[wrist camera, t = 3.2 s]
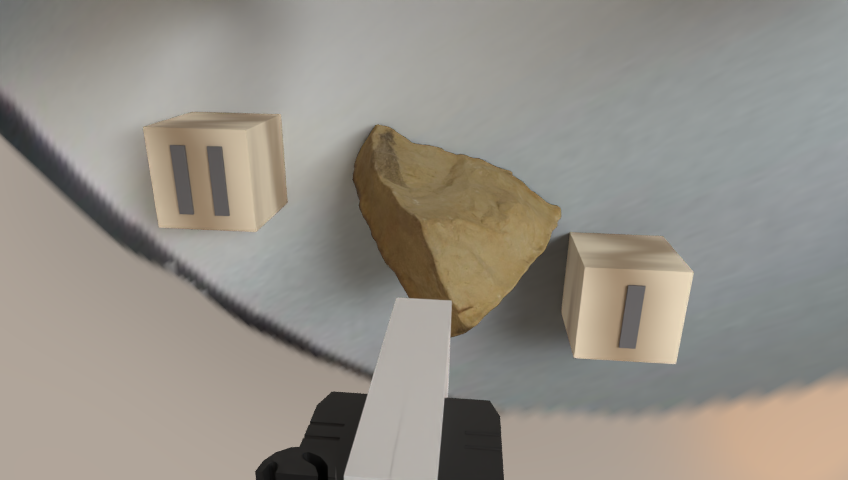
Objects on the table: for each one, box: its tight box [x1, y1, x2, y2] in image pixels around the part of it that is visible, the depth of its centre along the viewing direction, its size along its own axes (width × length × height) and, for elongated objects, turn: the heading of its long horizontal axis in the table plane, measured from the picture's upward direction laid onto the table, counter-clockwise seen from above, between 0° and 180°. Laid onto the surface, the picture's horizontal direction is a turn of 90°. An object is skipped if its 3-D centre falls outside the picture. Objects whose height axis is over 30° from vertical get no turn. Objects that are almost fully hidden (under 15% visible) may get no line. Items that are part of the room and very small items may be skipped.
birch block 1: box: [143, 112, 288, 232], centre depth 30 cm, size 5×5×5 cm
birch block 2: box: [561, 232, 694, 364], centre depth 30 cm, size 5×5×5 cm
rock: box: [352, 124, 561, 337], centre depth 28 cm, size 11×9×10 cm
